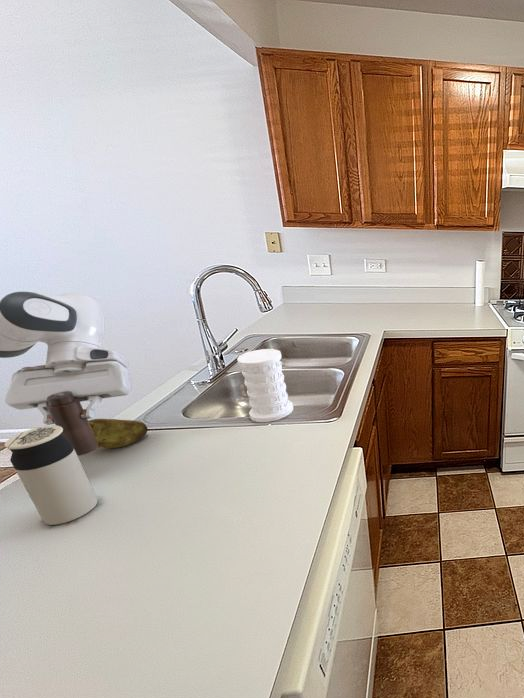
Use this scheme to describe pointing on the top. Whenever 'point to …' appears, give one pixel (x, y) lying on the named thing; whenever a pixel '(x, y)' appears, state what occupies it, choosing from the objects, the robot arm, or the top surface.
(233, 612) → the top surface
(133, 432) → the green pickle
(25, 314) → the robot arm
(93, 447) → the pepper mill
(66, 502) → the travel mug
